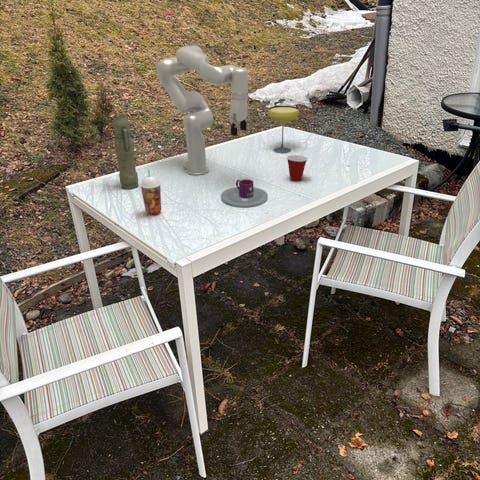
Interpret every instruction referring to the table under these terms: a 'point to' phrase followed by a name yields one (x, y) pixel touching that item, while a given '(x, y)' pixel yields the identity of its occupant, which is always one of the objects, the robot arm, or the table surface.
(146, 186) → the smoothie
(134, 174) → the green moai statue
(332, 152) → the table surface
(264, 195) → the dish
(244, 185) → the cup
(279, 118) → the cocktail glass
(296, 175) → the plastic cup
